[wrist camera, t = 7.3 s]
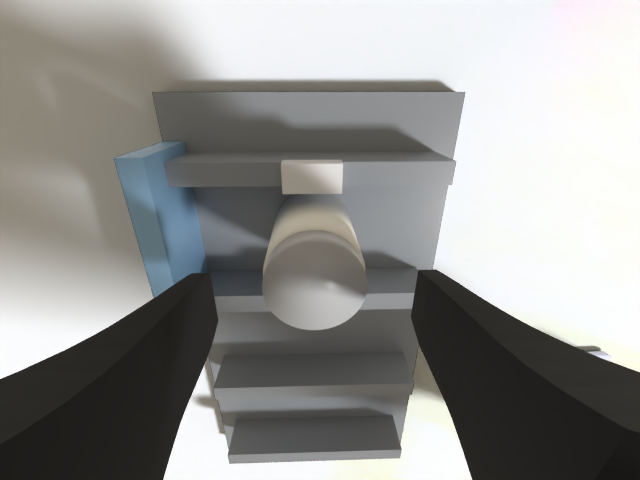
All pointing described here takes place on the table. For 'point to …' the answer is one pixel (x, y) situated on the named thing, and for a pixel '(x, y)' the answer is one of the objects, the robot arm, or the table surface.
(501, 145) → the table surface
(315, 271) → the cream rounded cylinder
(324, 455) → the grey slotted rack
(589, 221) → the table surface
